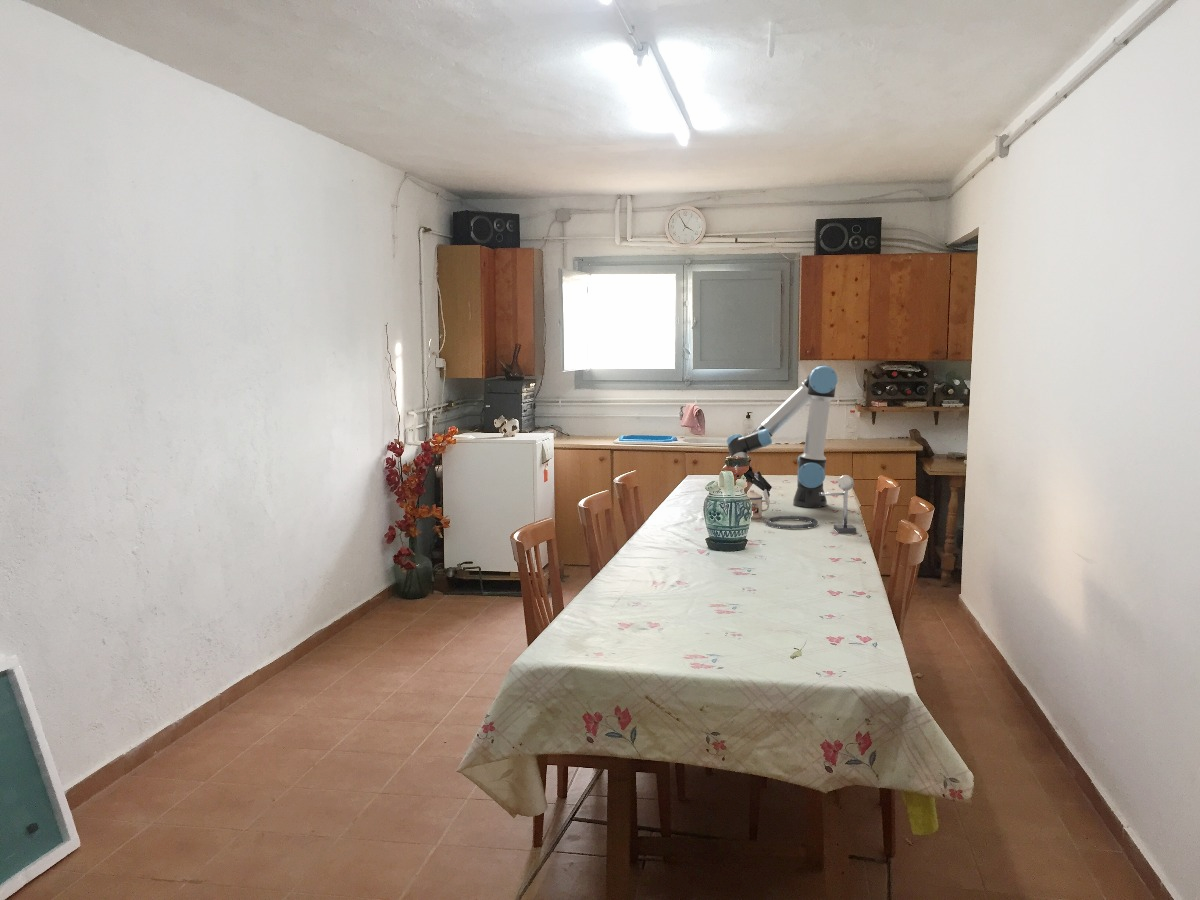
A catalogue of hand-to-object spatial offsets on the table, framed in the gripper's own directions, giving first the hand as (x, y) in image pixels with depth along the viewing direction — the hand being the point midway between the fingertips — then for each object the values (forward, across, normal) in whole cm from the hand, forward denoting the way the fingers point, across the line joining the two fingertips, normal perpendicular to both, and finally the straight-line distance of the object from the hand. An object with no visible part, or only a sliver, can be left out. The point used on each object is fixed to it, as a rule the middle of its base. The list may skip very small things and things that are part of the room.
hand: (753, 503), depth 389 cm
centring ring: (+17, -9, +9) cm, 22 cm away
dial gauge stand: (+30, -21, +23) cm, 43 cm away
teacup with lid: (+4, -1, -4) cm, 6 cm away
